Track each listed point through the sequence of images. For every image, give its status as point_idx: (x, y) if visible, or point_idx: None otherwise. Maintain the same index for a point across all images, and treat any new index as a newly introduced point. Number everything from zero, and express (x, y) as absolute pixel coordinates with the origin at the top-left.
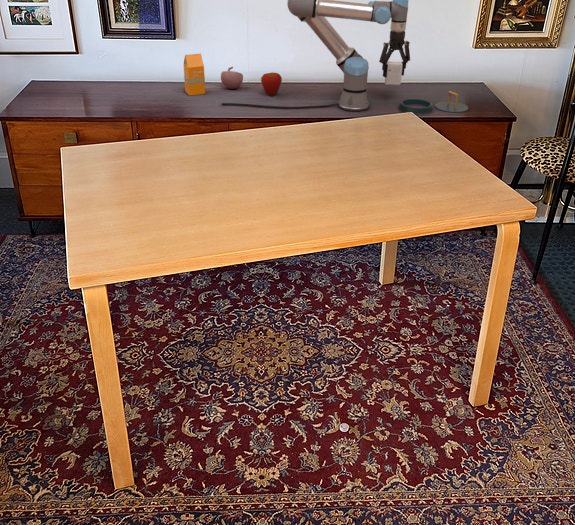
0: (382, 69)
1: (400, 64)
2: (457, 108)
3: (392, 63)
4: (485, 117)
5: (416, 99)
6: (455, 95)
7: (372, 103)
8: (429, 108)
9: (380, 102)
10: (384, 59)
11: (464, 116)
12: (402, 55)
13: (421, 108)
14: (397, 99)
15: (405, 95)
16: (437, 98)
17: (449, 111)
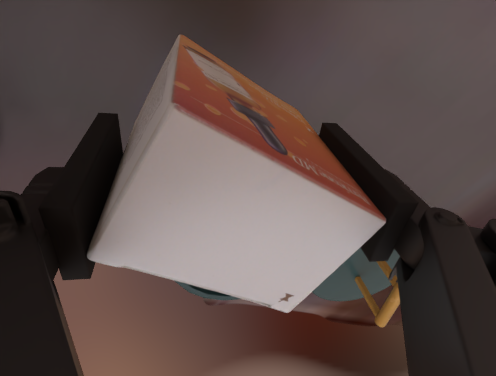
0: (42, 180)
1: (276, 302)
2: (362, 280)
3: (197, 255)
4: (370, 322)
5: None
6: (377, 318)
7: (51, 90)
8: None
9: (117, 92)
10: None
11: (330, 311)
12: (415, 361)
13: (218, 299)
14: (254, 81)
15: (355, 28)
16: (436, 145)
17: (315, 294)
